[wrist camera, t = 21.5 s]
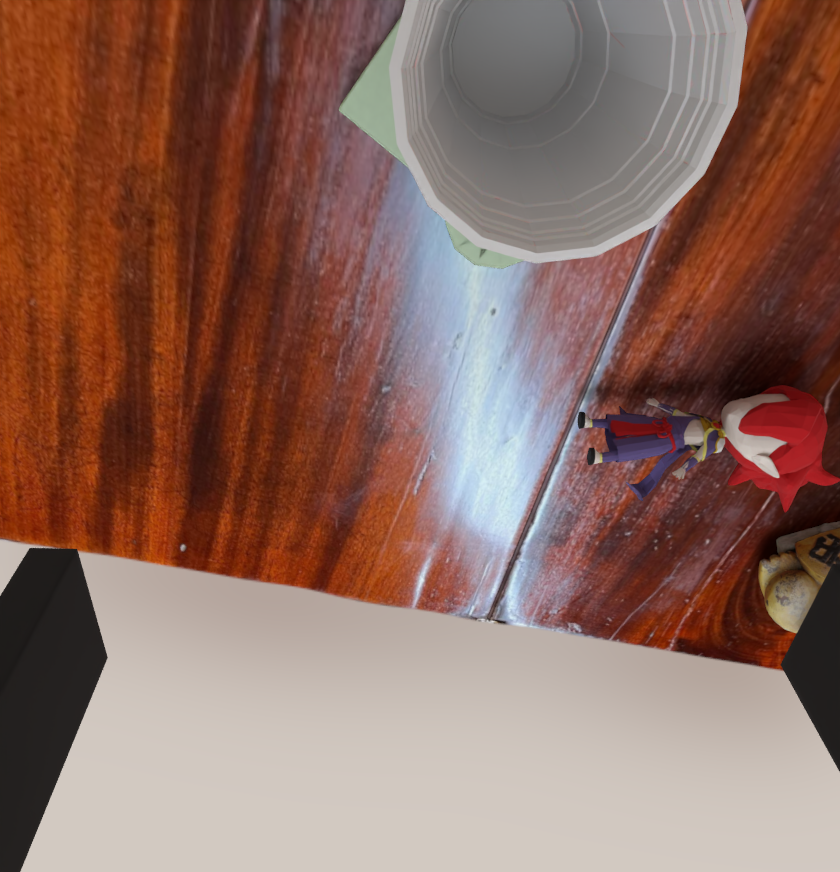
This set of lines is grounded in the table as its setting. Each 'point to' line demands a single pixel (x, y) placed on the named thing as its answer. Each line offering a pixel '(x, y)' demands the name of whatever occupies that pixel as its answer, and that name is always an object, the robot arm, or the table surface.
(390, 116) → the scale
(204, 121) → the table surface
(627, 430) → the figurine
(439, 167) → the plastic cup
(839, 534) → the decorative figurine
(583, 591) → the table surface
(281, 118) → the table surface
